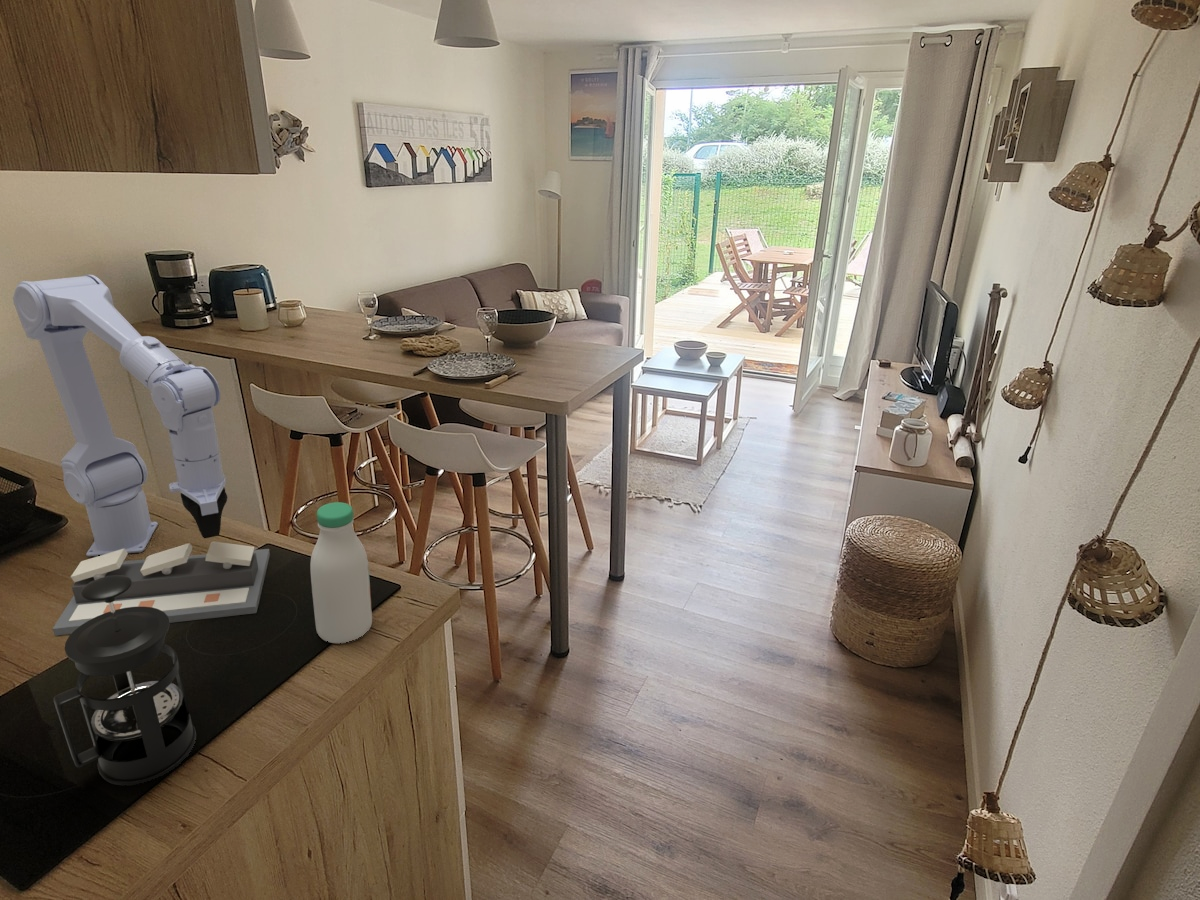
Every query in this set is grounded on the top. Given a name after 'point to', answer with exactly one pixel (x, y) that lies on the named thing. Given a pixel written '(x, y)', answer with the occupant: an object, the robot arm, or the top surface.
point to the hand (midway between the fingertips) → (210, 535)
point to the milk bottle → (340, 577)
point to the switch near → (99, 565)
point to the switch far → (229, 554)
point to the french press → (127, 688)
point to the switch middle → (166, 560)
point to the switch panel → (177, 591)
